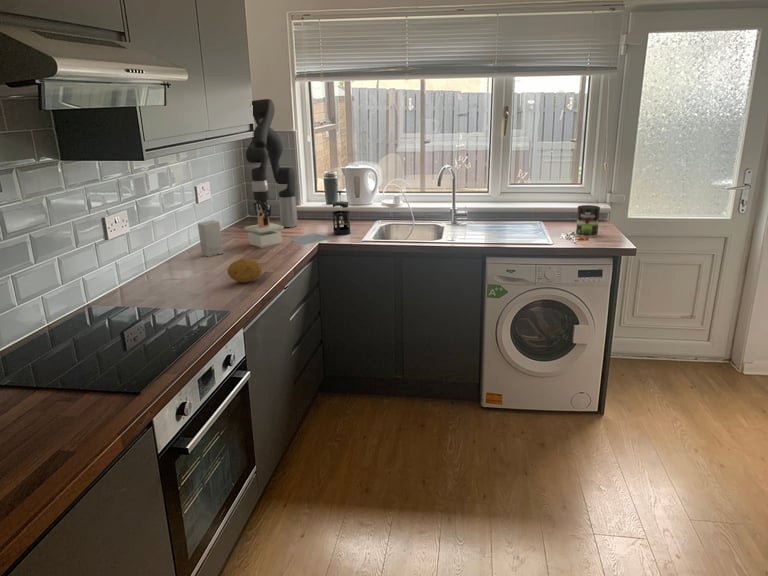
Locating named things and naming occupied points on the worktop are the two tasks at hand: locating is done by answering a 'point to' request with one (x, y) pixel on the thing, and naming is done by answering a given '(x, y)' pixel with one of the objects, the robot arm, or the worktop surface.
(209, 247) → the skincare box
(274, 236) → the dish
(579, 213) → the coffee can
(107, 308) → the worktop surface
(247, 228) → the lid
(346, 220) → the french press
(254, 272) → the potato
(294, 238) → the mat
